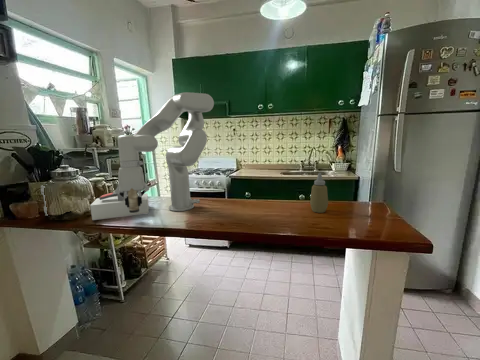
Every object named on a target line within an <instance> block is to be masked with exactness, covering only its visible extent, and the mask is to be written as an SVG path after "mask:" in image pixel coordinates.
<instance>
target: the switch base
mask: <svg viewBox="0 0 480 360" xmlns="http://www.w3.org/2000/svg"><path fill="white" fill-rule="evenodd" d="M119 191H120V190H119ZM127 196H128V194H127ZM99 198H100V197H97V198H95V200H94V201H93V202H92V203H91V204H90V205H89V207H90V214H91V219H92V221H97V220H106V219H107V220H108V219H115V218H121V217H131V216H139V215H146V214H149V210H150V209H149V207H150V205H149V195H148V193H144V194H143V195H142V204H141V205H140V206H139V212H135V213H130V212H129V207H127V205H125V199H124V197H122V196H121V195H119V194H117V196H113V197H110V198H106V199H102V200H100V199H99Z"/></svg>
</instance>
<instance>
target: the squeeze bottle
mask: <svg viewBox="0 0 480 360" xmlns="http://www.w3.org/2000/svg"><path fill="white" fill-rule="evenodd" d="M322 176H323V175H322V172H318V174H317V177H316V180H314V182H313V185H312V186H311V190H310V191H311V193H310V202H309V205H310V208H311V210H312V212H313V213H319V214H320V213H322V214H323V213H326V211H327V209H328V205H329V197H328V186H327V185H326V181H325V180H324V179H323V177H322Z"/></svg>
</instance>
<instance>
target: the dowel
mask: <svg viewBox="0 0 480 360" xmlns="http://www.w3.org/2000/svg"><path fill="white" fill-rule="evenodd" d="M127 192H128V194H127V195H128V201H129V212H130V213H135V212H139V205H138V192H137V191H135V190H134V189H133V188H131V189H130V191H127Z"/></svg>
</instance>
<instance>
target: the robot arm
mask: <svg viewBox="0 0 480 360" xmlns="http://www.w3.org/2000/svg"><path fill="white" fill-rule="evenodd" d="M214 105H215V101H214V99H213V97H212V96H211V95H210V94H208V93H201V92H200V93H199V92H187V91H186V92H181V93H176V94H174V95H172V96H170V97H169V99H168V100H167V101H166V102H165V104H163V105H162V107H161V108H159V110H158V111H157V112H156V114H155V115H154V116H152V117H151V118H150V119H149V120H148V121H145V123H144V124H143V125H141V126H140V128H139V129H138V130H137V131H136V132H135V134H133V135H131V134H130V135H128V134H126V135H118V137H117V147H118V156H119V165H120V167H119V168H118V177H117V178H118V179H117V180H118V185H117V187H116V189H115V190H114V192H115V193H117V194H119V195H121V196H122V197H124V199H125V205H127V207H129V201H128V196H127V195H128V192H127V191H130V189H131V188H133V189H134V190H135V191H137V192H138V205H139V206H140V205H141V204H142V195H143V194H146V193H147V192H148V191H149V190H150V187H149V186H148V184H147V183H146V182H145V176H144V172H143V171H144V170H143V168H142V167H141V166H142V165H144V161H142V160H140V156H139V155H140V154H139V152H142V153H151V152H154V151H155V150H157V148H158V146H159V144H158V139H157V138H156V137H157V136H158V135H159V134H161V133H163V132H165V131H167V130H169V129H171V128H172V126H173V125H175V123H176V121H177V120H178V119H179V117H180V116H181V115H182V114H183V113H185V112H187V114H188V120H187V121H186V123H185V125H184V127H183V128H182V130H181V132H180V133H179V136H178V141H177V142H178V144H179V146H178V145H175V146H171V147H170V148H168V149H167V151H166V153H165V160H166V165H167V168H168V176H169V179H168V180H169V188H170V189H169V190H170V191H169V192H170V202H171V205H169V206H168V210H169V211H171V212H184V211H185V212H186V211H189V210H192V209H193V208H194V207H195V204H200V203H201V200H200V199H196V198H194V199H192V198H191V191H190V190H191V189H190V178H189V176H190V174H189V170H188V168H187V167H192V166H194V165H195V164H196V163H197V162H198V161H199V157H201V155H202V152H203V150H204V149H205V148H206V145H207V142H208V137H207V133H206V131H205V130H204V129H203V128H204V127H205V120H204V116H203V113H208V112H211V110H213V108H214ZM119 190H120V191H119ZM121 191H122V192H121ZM123 192H124V193H123Z"/></svg>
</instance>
